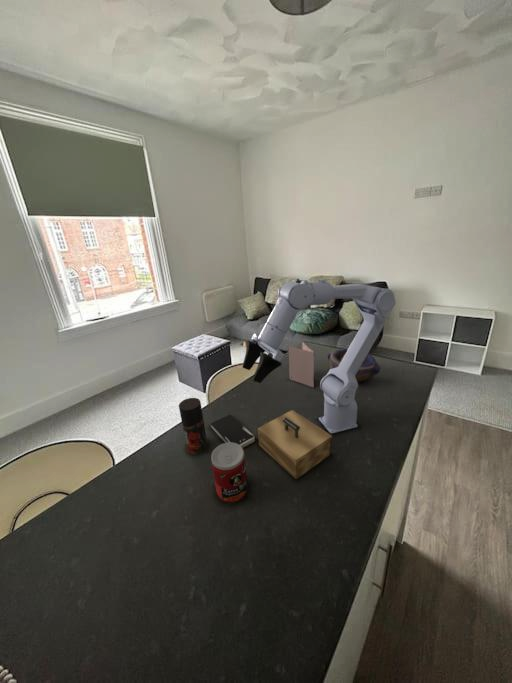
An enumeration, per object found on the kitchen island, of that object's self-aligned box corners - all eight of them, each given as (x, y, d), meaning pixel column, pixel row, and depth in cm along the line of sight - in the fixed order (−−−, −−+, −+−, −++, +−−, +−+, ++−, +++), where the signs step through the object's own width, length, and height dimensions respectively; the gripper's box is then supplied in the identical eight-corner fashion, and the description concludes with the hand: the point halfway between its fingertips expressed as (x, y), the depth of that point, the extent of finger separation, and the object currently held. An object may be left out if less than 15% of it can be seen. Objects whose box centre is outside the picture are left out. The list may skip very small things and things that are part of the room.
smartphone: (230, 414, 94) (255, 437, 82) (230, 417, 95) (256, 440, 83) (210, 423, 90) (233, 449, 78) (210, 426, 91) (234, 452, 79)
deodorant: (211, 442, 84) (204, 400, 78) (199, 456, 79) (191, 412, 73) (195, 437, 86) (187, 396, 81) (183, 450, 81) (174, 407, 76)
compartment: (290, 426, 88) (290, 412, 86) (329, 455, 76) (330, 439, 74) (259, 445, 81) (257, 430, 79) (296, 479, 69) (295, 463, 67)
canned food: (223, 509, 63) (217, 473, 59) (212, 484, 70) (206, 449, 66) (253, 494, 66) (250, 458, 62) (239, 471, 73) (235, 437, 69)
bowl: (382, 388, 105) (385, 364, 101) (334, 390, 105) (335, 367, 102) (365, 366, 121) (367, 345, 118) (324, 369, 122) (325, 348, 118)
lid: (292, 411, 86) (292, 399, 85) (332, 438, 74) (332, 424, 73) (257, 430, 79) (256, 417, 78) (295, 463, 67) (295, 448, 66)
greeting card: (315, 387, 109) (316, 352, 103) (297, 390, 107) (297, 355, 102) (304, 374, 119) (304, 341, 114) (287, 376, 118) (287, 344, 112)
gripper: (252, 314, 73) (229, 358, 75) (276, 329, 60) (247, 382, 62) (273, 324, 76) (250, 367, 78) (300, 341, 64) (272, 391, 65)
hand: (250, 374), depth 70 cm, fingers open, 7 cm apart
